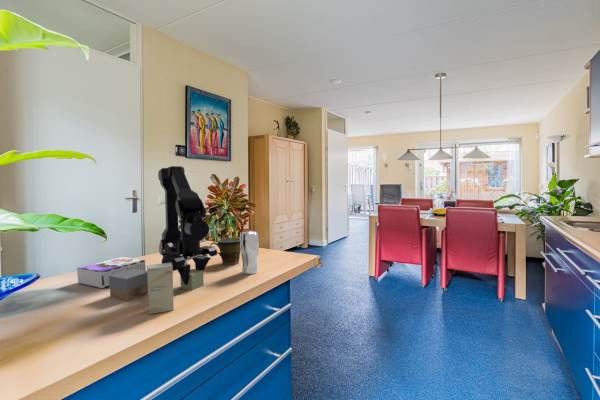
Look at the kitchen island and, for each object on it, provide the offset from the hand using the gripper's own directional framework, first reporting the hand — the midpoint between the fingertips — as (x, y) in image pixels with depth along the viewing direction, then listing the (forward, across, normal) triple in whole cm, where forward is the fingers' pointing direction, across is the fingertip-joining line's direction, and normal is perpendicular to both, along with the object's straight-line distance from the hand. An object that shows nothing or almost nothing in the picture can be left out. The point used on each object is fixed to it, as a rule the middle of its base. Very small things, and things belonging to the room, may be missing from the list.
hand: (192, 282), depth 101 cm
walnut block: (+2, +13, -12) cm, 18 cm away
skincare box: (+2, +17, +6) cm, 18 cm away
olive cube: (+2, 0, 0) cm, 2 cm away
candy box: (-1, +14, -32) cm, 35 cm away
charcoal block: (-2, +13, -12) cm, 18 cm away
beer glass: (+2, -21, +8) cm, 23 cm away
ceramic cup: (+2, -27, -8) cm, 28 cm away
